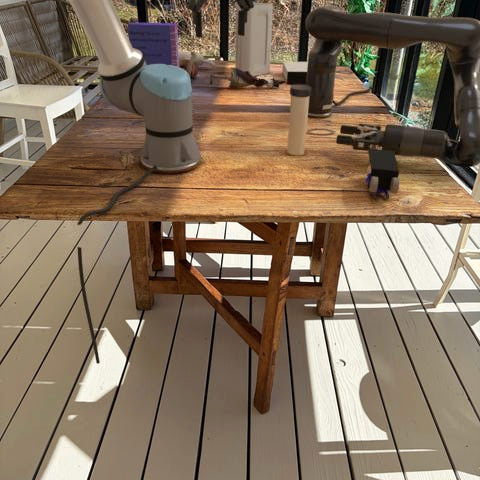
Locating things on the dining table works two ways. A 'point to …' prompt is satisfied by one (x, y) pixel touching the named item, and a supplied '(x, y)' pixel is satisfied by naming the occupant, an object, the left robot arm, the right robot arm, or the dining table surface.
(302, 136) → the cream cylindrical bottle
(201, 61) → the toy
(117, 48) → the left robot arm
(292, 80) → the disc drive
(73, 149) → the dining table surface
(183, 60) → the anatomical model
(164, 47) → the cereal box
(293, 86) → the lid
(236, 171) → the dining table surface
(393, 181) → the figurine character
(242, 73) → the figurine
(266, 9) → the tall white carton
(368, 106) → the dining table surface
